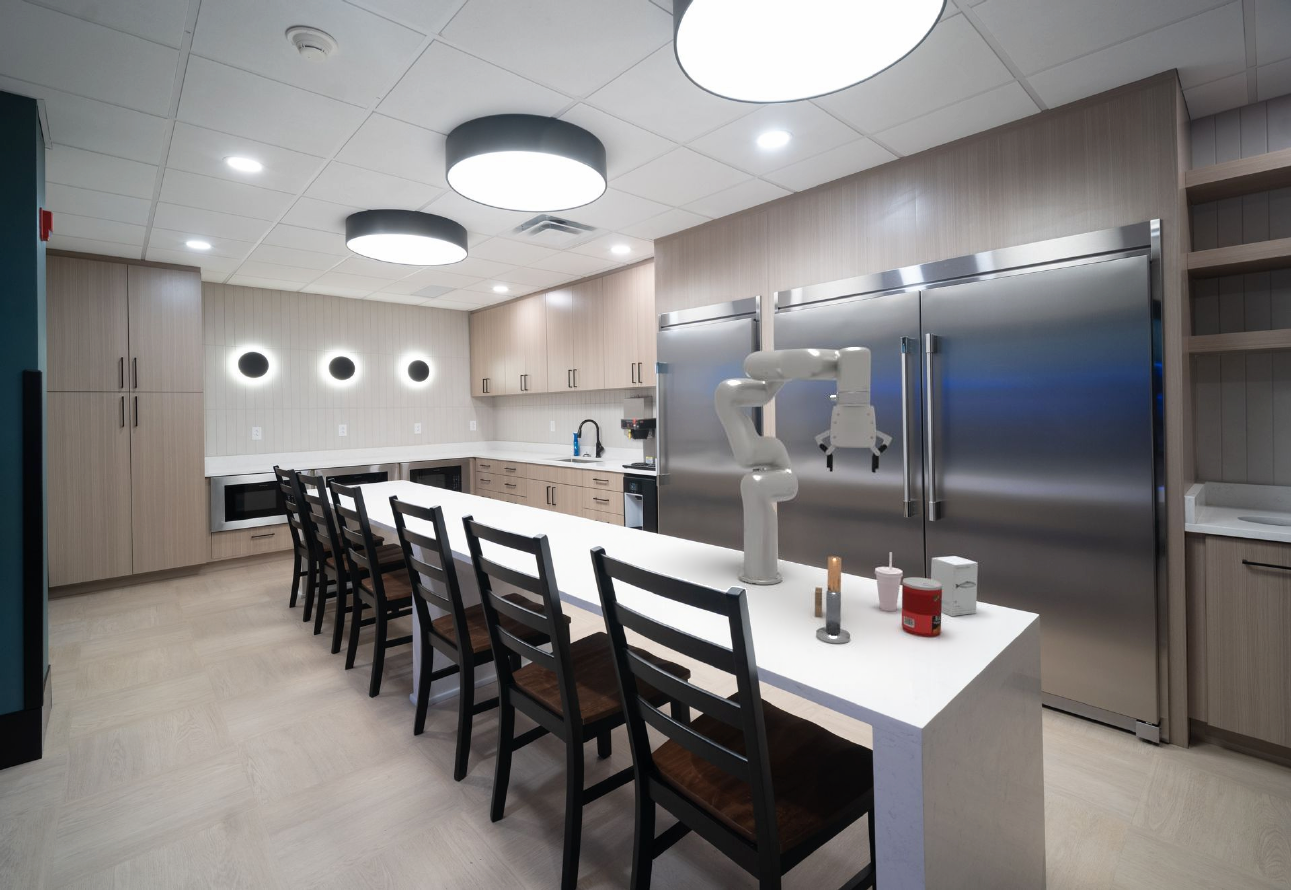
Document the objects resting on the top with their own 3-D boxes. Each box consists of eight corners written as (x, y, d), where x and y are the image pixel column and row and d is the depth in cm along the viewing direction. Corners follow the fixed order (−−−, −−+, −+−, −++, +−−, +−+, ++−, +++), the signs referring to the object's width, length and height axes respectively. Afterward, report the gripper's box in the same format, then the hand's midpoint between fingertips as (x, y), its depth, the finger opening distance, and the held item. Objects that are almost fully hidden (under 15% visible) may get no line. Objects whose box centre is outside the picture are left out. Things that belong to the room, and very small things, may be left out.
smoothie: (907, 611, 145) (909, 554, 144) (887, 614, 142) (888, 557, 141) (888, 603, 151) (889, 548, 150) (868, 606, 148) (869, 551, 147)
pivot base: (816, 630, 133) (816, 625, 133) (849, 633, 131) (849, 629, 131) (815, 641, 126) (815, 637, 126) (850, 645, 124) (850, 641, 124)
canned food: (941, 639, 127) (942, 589, 126) (900, 633, 130) (901, 584, 130) (940, 627, 134) (941, 579, 133) (902, 622, 137) (903, 575, 136)
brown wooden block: (815, 611, 145) (815, 587, 144) (822, 612, 144) (822, 587, 144) (814, 616, 141) (815, 592, 141) (821, 617, 140) (822, 592, 140)
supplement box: (952, 617, 140) (953, 564, 139) (929, 607, 147) (930, 557, 146) (977, 614, 142) (978, 562, 141) (953, 604, 149) (954, 554, 149)
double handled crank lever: (827, 607, 143) (828, 556, 143) (840, 609, 142) (841, 557, 142) (825, 633, 127) (826, 575, 126) (840, 635, 126) (841, 576, 126)
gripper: (815, 400, 140) (814, 472, 141) (894, 399, 135) (892, 474, 136) (815, 400, 147) (815, 469, 148) (890, 399, 142) (889, 470, 143)
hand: (852, 471), depth 142 cm, fingers open, 9 cm apart
